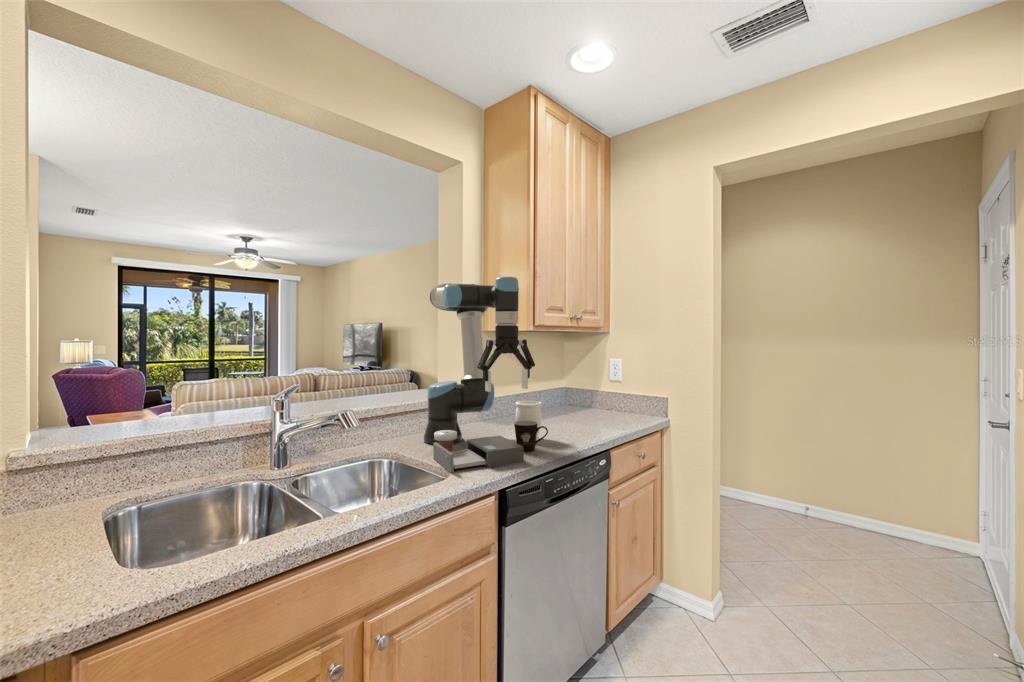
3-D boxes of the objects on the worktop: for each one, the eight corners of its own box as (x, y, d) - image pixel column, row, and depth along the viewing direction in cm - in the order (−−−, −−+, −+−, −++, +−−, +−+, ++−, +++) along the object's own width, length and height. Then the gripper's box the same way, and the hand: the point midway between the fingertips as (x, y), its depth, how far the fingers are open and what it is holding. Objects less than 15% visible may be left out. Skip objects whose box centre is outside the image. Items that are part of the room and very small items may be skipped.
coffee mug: (510, 451, 163) (510, 424, 163) (520, 446, 170) (520, 419, 170) (539, 455, 157) (539, 427, 157) (549, 449, 165) (548, 422, 165)
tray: (432, 459, 153) (432, 442, 153) (467, 454, 159) (467, 438, 159) (449, 473, 138) (449, 455, 138) (487, 467, 144) (487, 449, 144)
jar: (510, 439, 181) (510, 402, 181) (528, 435, 188) (528, 399, 188) (528, 443, 173) (528, 405, 173) (547, 439, 180) (546, 402, 180)
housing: (466, 454, 160) (466, 438, 159) (499, 449, 166) (499, 434, 165) (487, 467, 143) (487, 451, 143) (523, 462, 149) (523, 446, 149)
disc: (431, 437, 160) (431, 431, 160) (452, 434, 164) (452, 428, 164) (438, 442, 153) (438, 435, 153) (460, 439, 157) (460, 433, 157)
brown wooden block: (438, 454, 159) (438, 437, 159) (449, 452, 161) (449, 436, 161) (442, 457, 156) (442, 440, 156) (453, 455, 158) (453, 438, 158)
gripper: (476, 325, 137) (476, 394, 137) (545, 324, 149) (545, 388, 149) (466, 324, 143) (467, 390, 144) (533, 324, 155) (533, 385, 156)
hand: (506, 389), depth 147 cm, fingers open, 13 cm apart
